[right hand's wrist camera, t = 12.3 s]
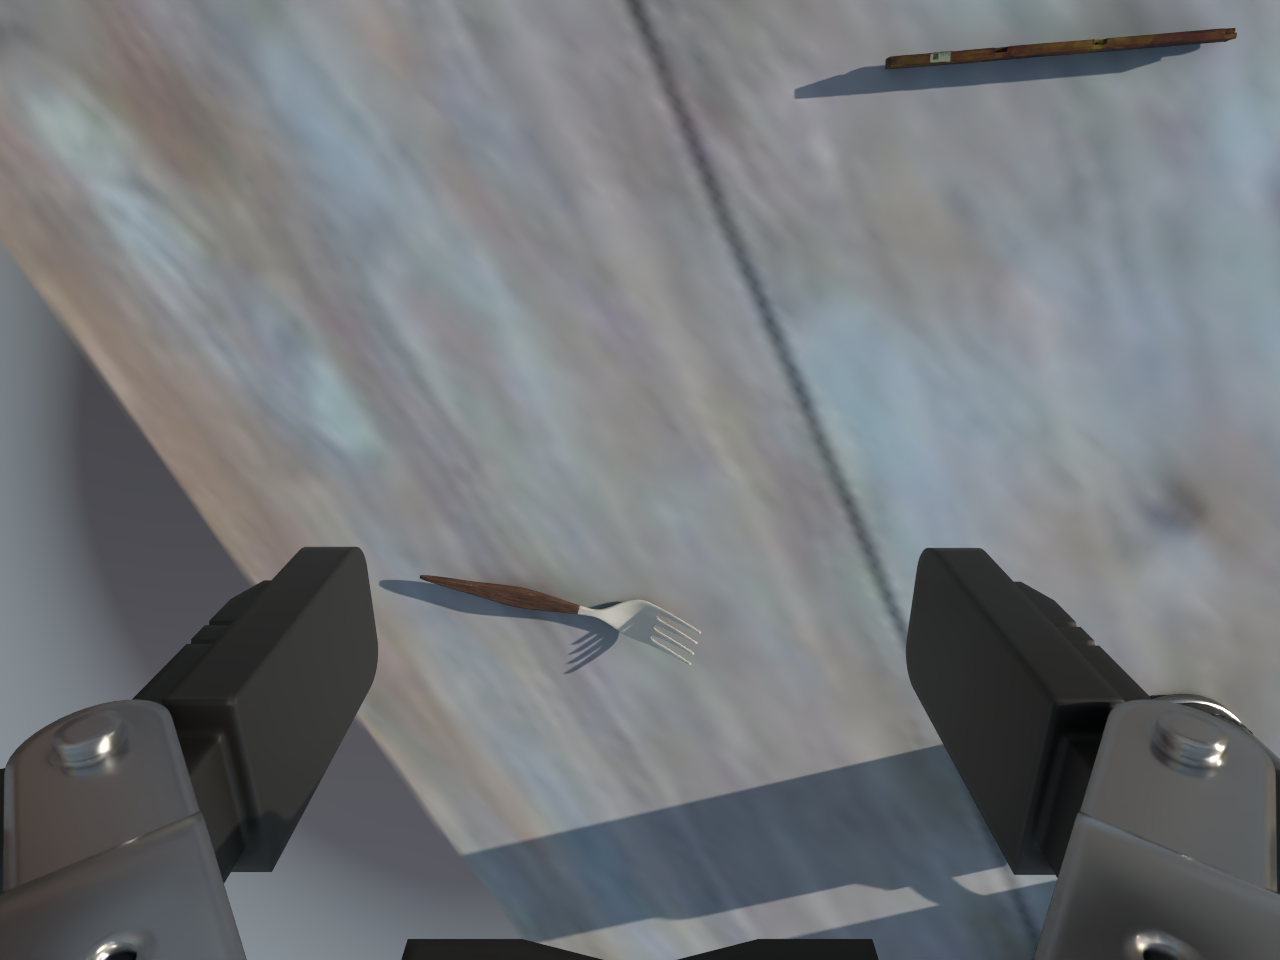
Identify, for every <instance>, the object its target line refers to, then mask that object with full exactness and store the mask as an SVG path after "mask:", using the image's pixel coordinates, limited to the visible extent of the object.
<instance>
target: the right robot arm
mask: <svg viewBox="0 0 1280 960" xmlns="http://www.w3.org/2000/svg"><path fill="white" fill-rule="evenodd" d="M377 660H378V641H377V634H376V627H375V620H374V613H373V606H372V599H371V592H370V585H369V578H368V571H367V564H366V560H365V556H364V554H363V552H362V550H361V549H360V548H358V547H304V548H302V549H301V550H299V551H298V553H297V554H296V555H295V556H294V557H293V558H292V559H291V560H290V561H289V562H288V563H287V564H286V565H285V567H284V568H283V569H282V570H281V571H280V572H279V573H278V574H277V575H276V576H275V577H274V578H273V579H272V581H262V582H260V583H259V584H257V585H255V586H253V587H252V588H250V589H248V590H246V591H244V592H243V593H241V594H239V595H237V596H236V597H234V598H232V599H231V600H229V602H228V603H227V604H226V605H225V606H224V607H223V608H222V609H221V610H220V611H219V612H218V613H217V614H216V615H215V616H214V617H213V618H212V619H211V620H210V621H209V625H205V626H204V627H203V628H202V629H201V630H200V631H199V632H198V633H197V634H196V635H195V636H194V637H193V638H192V639H191V644H186V645H185V646H184V647H183V648H182V649H181V650H180V651H179V652H178V654H176V655H175V656H174V657H173V658H172V659H171V660H170V661H169V662H168V664H167V665H166V666H165V667H164V668H163V669H162V670H161V671H160V672H159V673H158V674H157V675H156V676H155V677H154V678H153V679H152V680H151V681H150V682H149V683H148V684H147V685H146V686H145V687H144V688H143V689H142V690H141V691H140V692H139V693H138V694H137V695H136V696H135V697H134V698H133V699H132V700H121V701H113V702H108V703H103V704H99V705H96V706H92V707H89V708H85V709H83V710H80V711H77V712H74V713H72V714H70V715H67V716H65V717H63V718H61V719H59V720H57V721H55V722H53V723H51V724H49V725H47V726H46V727H44V728H42V729H41V730H39V731H38V732H36V733H35V734H33V735H32V736H31V737H30V738H28V739H27V740H26V741H25V742H23V743H22V744H21V745H20V746H19V747H18V748H17V749H16V750H15V752H14V753H13V754H12V756H11V757H10V758H9V760H8V762H7V764H6V768H4V769H0V960H247V959H246V956H245V953H244V949H243V946H242V943H241V939H240V936H239V933H238V929H237V926H236V923H235V919H234V916H233V913H232V909H231V906H230V903H229V900H228V896H227V893H226V890H225V886H224V882H225V881H226V879H227V877H228V876H229V874H230V872H272V871H273V869H274V867H275V865H276V863H277V861H278V859H279V858H280V856H281V854H282V852H283V850H284V848H285V846H286V844H287V843H288V841H289V839H290V837H291V835H292V833H293V831H294V830H295V828H296V826H297V824H298V822H299V820H300V818H301V816H302V815H303V813H304V811H305V809H306V807H307V805H308V803H309V801H310V799H311V798H312V796H313V794H314V792H315V790H316V788H317V786H318V785H319V783H320V781H321V779H322V777H323V775H324V773H325V771H326V770H327V768H328V766H329V764H330V762H331V760H332V758H333V757H334V755H335V753H336V751H337V749H338V747H339V745H340V743H341V742H342V740H343V738H344V736H345V734H346V732H347V730H348V729H349V727H350V725H351V723H352V721H353V719H354V717H355V715H356V714H357V712H358V710H359V708H360V706H361V704H362V702H363V700H364V699H365V697H366V695H367V693H368V691H369V689H370V687H371V685H372V683H373V680H374V677H375V673H376V668H377ZM906 661H907V669H908V674H909V678H910V681H911V684H912V686H913V689H914V690H915V692H916V694H917V696H918V698H919V700H920V702H921V703H922V705H923V707H924V709H925V711H926V713H927V714H928V716H929V718H930V720H931V722H932V724H933V726H934V727H935V729H936V731H937V733H938V735H939V737H940V739H941V740H942V742H943V744H944V746H945V748H946V750H947V751H948V753H949V755H950V757H951V759H952V761H953V763H954V764H955V766H956V768H957V770H958V772H959V774H960V775H961V777H962V779H963V781H964V783H965V785H966V787H967V788H968V790H969V792H970V794H971V796H972V798H973V800H974V801H975V803H976V805H977V807H978V809H979V811H980V812H981V814H982V816H983V818H984V820H985V822H986V824H987V825H988V827H989V829H990V831H991V833H992V835H993V836H994V838H995V840H996V842H997V844H998V846H999V848H1000V849H1001V851H1002V853H1003V855H1004V857H1005V859H1006V860H1007V862H1008V864H1009V866H1010V868H1011V870H1012V872H1013V873H1014V875H1056V876H1057V878H1058V880H1057V883H1056V886H1055V890H1054V893H1053V896H1052V900H1051V903H1050V906H1049V909H1048V913H1047V916H1046V919H1045V923H1044V926H1043V929H1042V933H1041V936H1040V939H1039V943H1038V946H1037V949H1036V953H1035V956H1034V959H1033V960H1280V759H1279V758H1278V757H1277V756H1276V755H1275V754H1274V753H1273V752H1272V751H1271V750H1270V749H1268V748H1267V747H1266V746H1265V745H1264V744H1263V743H1262V742H1261V741H1260V740H1258V739H1257V738H1256V737H1255V736H1254V735H1253V733H1252V732H1251V731H1250V730H1249V729H1247V728H1246V727H1245V726H1244V725H1243V724H1242V723H1241V722H1240V721H1239V720H1238V718H1236V717H1235V716H1234V715H1233V714H1232V713H1231V712H1230V711H1229V710H1228V709H1226V708H1225V707H1224V706H1223V705H1221V704H1220V703H1218V702H1216V701H1214V700H1212V699H1209V698H1206V697H1203V696H1198V695H1191V694H1173V695H1166V696H1161V697H1156V698H1153V699H1152V698H1151V697H1150V696H1149V695H1148V694H1147V693H1146V692H1145V691H1144V690H1143V689H1142V688H1141V687H1140V686H1139V685H1138V684H1137V683H1136V682H1135V681H1134V680H1133V679H1132V678H1131V677H1130V676H1129V675H1128V674H1127V673H1126V672H1125V671H1124V670H1123V669H1122V668H1121V667H1120V666H1119V665H1118V664H1117V663H1116V662H1115V661H1114V660H1113V659H1112V658H1111V657H1110V656H1109V655H1108V654H1107V653H1106V652H1105V651H1104V650H1103V649H1102V648H1101V647H1100V646H1095V644H1094V640H1093V639H1092V638H1091V637H1090V636H1089V635H1088V634H1087V633H1086V632H1085V631H1084V630H1083V629H1082V628H1081V627H1076V622H1075V621H1074V620H1073V619H1072V618H1071V617H1070V616H1069V615H1068V614H1067V613H1066V612H1065V611H1064V610H1063V609H1062V608H1061V607H1060V606H1059V605H1058V604H1057V603H1056V602H1055V601H1054V600H1052V599H1051V598H1049V597H1047V596H1045V595H1043V594H1042V593H1040V592H1038V591H1036V590H1035V589H1033V588H1031V587H1029V586H1027V585H1026V584H1024V583H1022V582H1013V581H1012V580H1011V579H1010V577H1009V576H1008V575H1007V574H1006V573H1005V572H1004V571H1003V570H1002V569H1001V568H1000V567H999V566H998V565H997V564H996V563H995V561H994V560H993V559H992V558H991V557H990V556H989V555H988V554H987V553H986V552H985V551H984V550H983V549H981V548H926V549H925V550H924V551H923V552H922V554H921V556H920V558H919V562H918V567H917V573H916V580H915V587H914V594H913V601H912V608H911V614H910V621H909V628H908V635H907V643H906ZM402 960H602V959H598V958H594V957H590V956H586V955H582V954H578V953H574V952H570V951H566V950H563V949H559V948H555V947H551V946H547V945H543V944H539V943H535V942H531V941H527V940H523V939H408V940H407V944H406V947H405V950H404V953H403V956H402ZM678 960H878V957H877V953H876V950H875V947H874V943H873V940H872V939H757V940H753V941H749V942H745V943H741V944H737V945H733V946H729V947H725V948H721V949H717V950H714V951H710V952H706V953H702V954H698V955H694V956H690V957H686V958H682V959H678Z"/></svg>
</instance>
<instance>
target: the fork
mask: <svg viewBox="0 0 1280 960" xmlns="http://www.w3.org/2000/svg"><path fill="white" fill-rule="evenodd" d="M420 578H421V579H423V580H425V581H428V582H431V583H435V584H438V585H441V586H445V587H448V588H451V589H455V590H459V591H462V592H466V593H469V594H473V595H476V596H479V597H482V598H486V599H489V600H492V601H496V602H499V603H502V604H506V605H510V606H514V607H519V608H525V609H533V610H542V611H551V612H561V613H571V614H581V615H588V616H593V617H596V618H599V619H601V620H603V621H604V622H606V623H608V624H609V625H611V626H612V627H613V628H615V629H616V630H618V631H620V632H621V633H623V634H625V635H627V636H629V637H631V638H633V639H636V640H638V641H641V642H644V643H647V644H649V645H651V646H654V647H656V648H658V649H660V650H662V651H664V652H666V653H668V654H670V655H672V656H674V657H676V658H678V659H680V660H682V661H684V662H685V663H687V664H688V665H691V663H690V662H689V661H687V660H685V659H684V658H682V657H681V656H679V655H678V654H676V653H675V652H673V651H671V650H670V649H668V648H666V647H665V646H663V645H661V644H660V643H658V642H656V641H655V640H653V639H652V638H651V635H654V636H657V637H659V638H661V639H663V640H666V641H668V642H670V643H672V644H674V645H676V646H678V647H680V648H682V649H684V650H685V651H687V652H689V653H691V654H694V652H692V651H691V650H689V649H688V648H686V647H684V646H683V645H681V644H680V643H678V642H676V641H675V640H673V639H672V638H670V637H668V636H667V635H665V634H663V633H661V632H660V631H658V630H657V629H655V628H654V625H658V626H660V627H663V628H665V629H667V630H669V631H671V632H673V633H675V634H678V635H680V636H682V637H684V638H686V639H688V640H689V641H691V642H693V643H695V644H697V642H696V641H695V640H693V639H691V638H690V637H688V636H687V635H685V634H683V633H682V632H680V631H679V630H677V629H675V628H674V627H672V626H670V625H668V624H667V623H665V622H663V621H662V620H660V619H659V618H658V617H657V615H662V616H665V617H667V618H669V619H671V620H673V621H675V622H678V623H680V624H682V625H684V626H686V627H688V628H690V629H692V630H694V631H696V632H697V633H699V634H700V633H701V632H700V631H699V630H697V629H696V628H694V627H692V626H691V625H689V624H688V623H686V622H684V621H683V620H681V619H679V618H678V617H676V616H674V615H672V614H671V613H669V612H667V611H665V610H663V609H661V608H660V607H658V606H656V605H654V604H652V603H650V602H647V601H644V600H629V601H625V602H622V603H619V604H616V605H613V606H611V607H608V608H604V609H590V608H586V607H583V606H580V605H577V604H573V603H570V602H567V601H564V600H561V599H558V598H555V597H552V596H549V595H546V594H543V593H540V592H537V591H533V590H529V589H525V588H521V587H515V586H508V585H499V584H490V583H481V582H473V581H466V580H459V579H452V578H445V577H437V576H428V575H420Z"/></svg>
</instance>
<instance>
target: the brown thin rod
mask: <svg viewBox="0 0 1280 960" xmlns="http://www.w3.org/2000/svg"><path fill="white" fill-rule="evenodd" d="M1236 36H1237V33H1235V28H1229V29H1225V28H1224V29H1211V30H1201V31H1187V32H1176V33H1165V34H1154V35H1141V36H1129V37H1118V38H1108V39H1101V40H1095V39H1094V40H1082V41H1069V42H1055V43H1042V44H1032V45H1019V46H1009V47H1002V48H985V49H974V50H963V51H945V52H935V53H928V54H916V55H903V56H892V57H889V58H887V59H886V67H885V69H897V68H909V67H923V66H936V65H948V64H961V63H974V62H985V61H997V60H1009V59H1019V58H1030V57H1042V56H1056V55H1069V54H1081V53H1093V52H1105V51H1118V50H1130V49H1141V48H1152V47H1165V46H1177V45H1188V44H1201V43H1214V42H1226V41H1228V40H1231V39H1235V38H1236Z"/></svg>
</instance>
